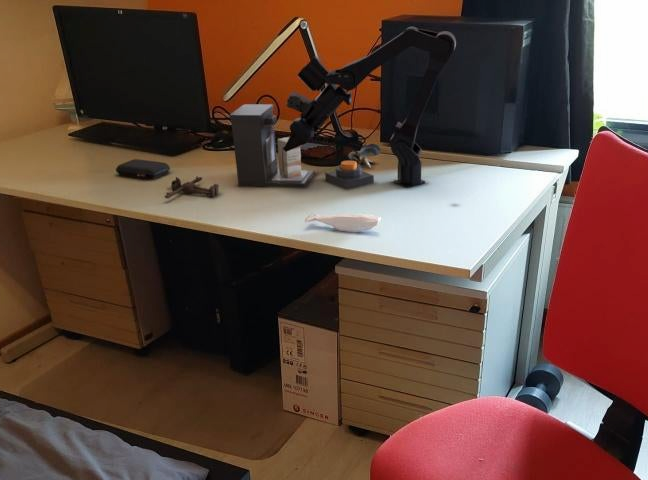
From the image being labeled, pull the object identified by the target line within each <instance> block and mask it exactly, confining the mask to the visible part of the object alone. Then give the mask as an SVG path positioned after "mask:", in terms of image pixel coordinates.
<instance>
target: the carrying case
mask: <svg viewBox="0 0 648 480" xmlns="http://www.w3.org/2000/svg"><path fill="white" fill-rule="evenodd" d="M115 168H116V169H115V172H116V173H117V174H118V175H119V176H125V177H132V178H137V179H139V178H140V179H147V180H153V179H156V178H159V177H161V176H164V175H165V174H168V173H169V172H170V170H171V166H170V165H169V164H168V163H166V162H162V161H154V160H147V159H139V158H138V159H137V158H133V159H130V160H128V161H126V162H123V163H120V164H118V165H117V166H116V167H115Z"/></svg>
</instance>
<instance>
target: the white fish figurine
mask: <svg viewBox="0 0 648 480" xmlns="http://www.w3.org/2000/svg"><path fill="white" fill-rule="evenodd" d="M381 219H382V217H381V216H377V215H371V214H366V213H363V214H357V213H356V214H355V213H354V214H351V213H338V214H334V215H333V214H332V215H330V214H329V215H317V214H315V213H313V212H311V213H310V214H309V215H308V216H306V218H305V219H304V223H309V222H314V221H315V222H320V223H323V224H324V225H328V226H330V227H332V228H334V229H335V230H337V231H339V232H349V233H350V232H351V233H352V232H354V233H355V232H356V233H357V232H365V231H369V230H371V229H373V228H374V227H377V226H378V224H380V222H381Z"/></svg>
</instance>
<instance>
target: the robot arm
mask: <svg viewBox="0 0 648 480" xmlns="http://www.w3.org/2000/svg"><path fill="white" fill-rule="evenodd" d="M456 46H457V39H456V36H455V35H454V34H453V33H452V32H450V31H447V30H442V31H439V32H437V31H433V30H427V29H422V28H417V27H416V26H409V27H407V28H406V29H405V30H404V31H403V32H401V33H399V35H397V36H395V37H394V38H392V39H391V40H389V41H388V42H386V43H384V44H383V45H382V46H380V47H379V48H377V49H376V50H374V51H373V52H371V53H370V54H368V55H366V56H364V57H361V58H357V59H356V60H354V61H351V62H349V63H347V64H345V65H344V66H343V67H342V68H337V69H331V70H330V71H329V69H328V68H327V67H326V66H325V65H324V64H323V63H322V62H321V60H320V59H319V58H318V57H317V56H316V55H315V56H313V57H312V59H310V61H308V63H307V64H306V65H304V66H303V67H302V68H301V69H300V71H299V72H298V73H297V75H296V77H297V78H298V79H299V80H301V82H303V84H304V85H305V86H306V87H307V88H308V89H310V91H311V92H316V91H317V92H319V91H320V90H321V89H322V88H323V87H324V86H325V85H326V84H327V85H326V86H325V87H324V88H323V90H322V91H321V92H320V93H319V94H318V95H317V96H316V97H314V98H313V99H312V100H311V99H309V98H308V97H306V96H305V95H302V94H301V93H299V92H296V91H292V92H290V94H289V96H288V98H287V100H286V104H285V106H286V108H289V109H293V110H294V111H297V112H299V113H300V114H299V117H296V119H294V120H293V121H292V123H291V124H290V125H289V130H290V135H289V136H288V137H289V139H288V141H287V143H286V145H285V147H284V151H285V152H287V151H289V150H292V149H294V148H296V147H299V146H301V145H303V144H306V143H310V141H311V139H312V138H314V136H315V133H317V132H318V131H319V130H320V129H321V128H322V127H323V126H324V125H325V124H326V121H327V120H328V119H329V118H330V117H331V116H332V114H333V113H334V112H335V111H336V110H337V109H339V107H340V106H341V104H343V102H344V103H345V105H347V106H350V105H351V104H352V103H353V98H352V96H353V93H352V92H350V91H353V90H354V89H356V88H357V86H359V85H361V83H362V82H363V81H364V80H365V79H366V78H367V77H368V76H369V75H370V74H371V73H372V72H374V71H375V70H377V69H378V68H380V67H381V66H383V65H385V64H386V63H387V62H389V61H390V60H391V59H393V58H395V57H397V56H398V55H399V54H401V53H402V52H404V51H405V50H407V49H408V48H410V47H414V48H417V49H420V50H422V51H425V52H428V53H429V55H428V59H427V60H428V61H427V65H426V69H425V72H424V74H423V77H422V79H421V82H420V84H419V86H418V89H417V91H416V94H415V96H414V98H413V100H412V103H411V106H410V108H409V111H408V113H407V115H406V118H405V120H404V121H403V122H400V121H397V123H396V125H395V128H394V132H393V134H392V135H391V138H390V139H389V142H390V143H391V144H390V151H391V152H392V154H393V155H394V156H395V157H396V158H397V161H398V162H397V179H394V180H393V183H394V184H396V185H400V186H402V187H405V188H413V187H416V186H419V185H424V184H426V181H425V180H423V179H422V161H421V159H420V158H421V155H422V152H423V149H422V148H421V147H420V146H419V145H418V143H416V137H417V133H418V130H419V124H420V122H421V119H422V117H423V114H424V112H425V110H426V107H427V104H428V102H429V100H430V98H431V95H432V93H433V90H434V88H435V86H436V84H437V82H438V79H439V76H440V74H441V73H442V71H443V70H444V68H445V67H446V65H447V64H448V62H449V60H450V59H451V57H452V56H453V55H454V52H455V49H456ZM348 91H349V92H348Z"/></svg>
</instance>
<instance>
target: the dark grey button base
mask: <svg viewBox="0 0 648 480" xmlns="http://www.w3.org/2000/svg"><path fill="white" fill-rule="evenodd" d="M324 179H325V181H326V182H329V183H330V184H333V185H336V186H338V187H340V188H343V189H345V190H351V189H355V188H359V187H364V186H367V185H371V184H374V183H375V182H374V181H375V175H373V174H371V173H368V172H366V171H363V166H362V165H361V164H360V165H357V169H355V170H342V169H341V164H339V165H336V167H335V170H332V171H331V170H330V171H327V172H324Z"/></svg>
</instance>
